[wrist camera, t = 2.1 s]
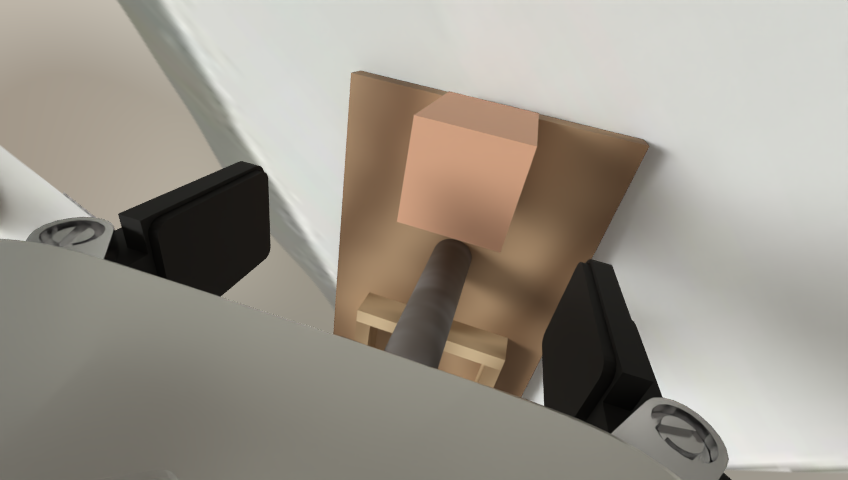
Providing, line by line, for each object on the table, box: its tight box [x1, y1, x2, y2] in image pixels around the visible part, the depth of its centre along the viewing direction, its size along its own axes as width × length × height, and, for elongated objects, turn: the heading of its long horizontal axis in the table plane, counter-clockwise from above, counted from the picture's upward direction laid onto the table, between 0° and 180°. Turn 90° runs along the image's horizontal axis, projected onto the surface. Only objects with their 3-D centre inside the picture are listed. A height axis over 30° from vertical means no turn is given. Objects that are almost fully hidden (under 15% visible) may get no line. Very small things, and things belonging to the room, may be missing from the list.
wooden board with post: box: [333, 71, 649, 397], centre depth 21 cm, size 15×24×12 cm, turn 170°
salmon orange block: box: [397, 92, 539, 253], centre depth 17 cm, size 4×4×6 cm
